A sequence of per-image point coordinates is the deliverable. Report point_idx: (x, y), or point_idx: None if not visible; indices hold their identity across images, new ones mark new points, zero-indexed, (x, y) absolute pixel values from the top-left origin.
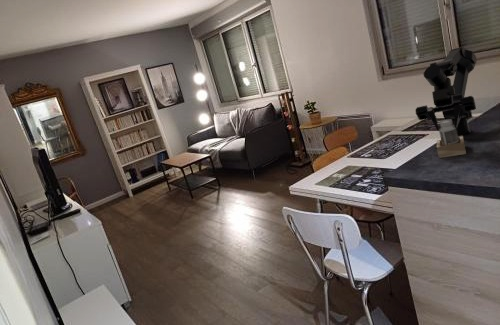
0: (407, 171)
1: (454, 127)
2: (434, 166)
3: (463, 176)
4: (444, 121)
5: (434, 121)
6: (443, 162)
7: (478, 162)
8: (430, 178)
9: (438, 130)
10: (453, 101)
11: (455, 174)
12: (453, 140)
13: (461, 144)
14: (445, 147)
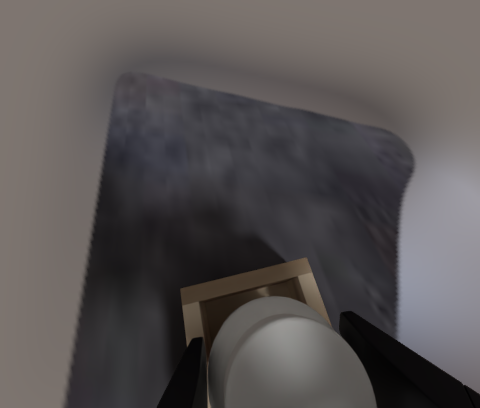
0: (354, 162)
1: (212, 352)
2: (280, 186)
3: (182, 112)
4: (308, 375)
5: (446, 385)
6: (259, 215)
7: (146, 193)
8: (262, 111)
9: (339, 322)
10: None
11: (203, 124)
12: (233, 311)
13: (194, 285)
14: (267, 268)
